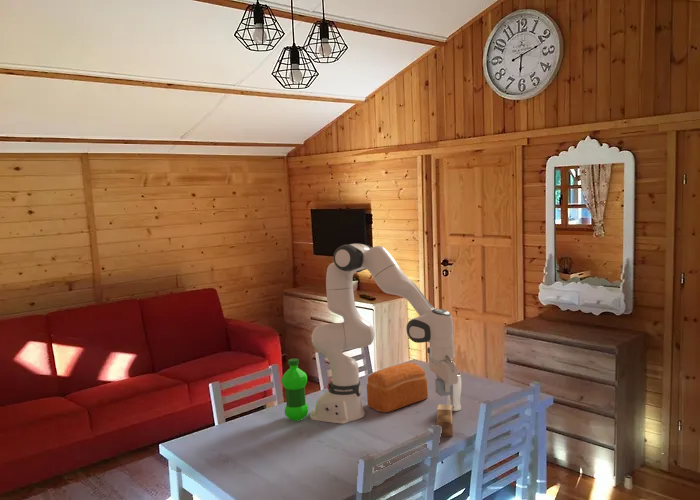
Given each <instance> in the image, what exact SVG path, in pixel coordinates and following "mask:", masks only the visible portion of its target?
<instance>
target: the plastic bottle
mask: <svg viewBox="0 0 700 500" xmlns="http://www.w3.org/2000/svg"><path fill="white" fill-rule="evenodd" d="M299 361H300V359H299V358H290V359H288V361H287V364H288V366H289V368H288V369H287V370H286V371H285V372H284V374H283V375H282V378H281V385H282V387H283V388H284V389H285V399H286V401H285V402H286V403H285V404H286V405H285V409H284V415H285V416H286V417H287V418H288V419H290V420H291V421H292V420H296V421H295V422H298V421H297V420H301V419H303V420H304V419H305V418H306V417H307V416H308V412H309V406H308V403H307V402H306V388H305V387H306V386H307V382H308V375H307V373H306V372H305V371H303V370H302V369H300V368H299V364H300V363H299ZM301 421H302V420H301Z"/></svg>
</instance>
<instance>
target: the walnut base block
mask: <svg viewBox="0 0 700 500" xmlns="http://www.w3.org/2000/svg"><path fill="white" fill-rule="evenodd" d="M436 425H439V426H441V427H442V433H441V436H440V437H453V436H454V430H455V429H454V417H453V416H452V421H451V423H444V422H438V421H437V420H436V422H435V426H436Z"/></svg>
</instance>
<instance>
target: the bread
mask: <svg viewBox="0 0 700 500" xmlns="http://www.w3.org/2000/svg"><path fill="white" fill-rule="evenodd" d="M428 391H429V389H428V380H427V377H426V372H425V370H424V369H423V368H422V367H421V366H420V365H418V364H416V363H414V362H406V363H401V364H396V365H391V366H388V367H385V368H383V369H380V370H378V371H375V372H372V373H370V374H369V375H368V377H367V384H366V398H367V399H366V400H367V406H368V407H369V408H371V409H373V410H376V411H378V412H380V413H389V412H392V411H395V410H398V409H401V408H403V407H407V406H410V405H413V404H415V403H418V402H421V401H424V400H426V399H427V398H428V394H429V392H428Z"/></svg>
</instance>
